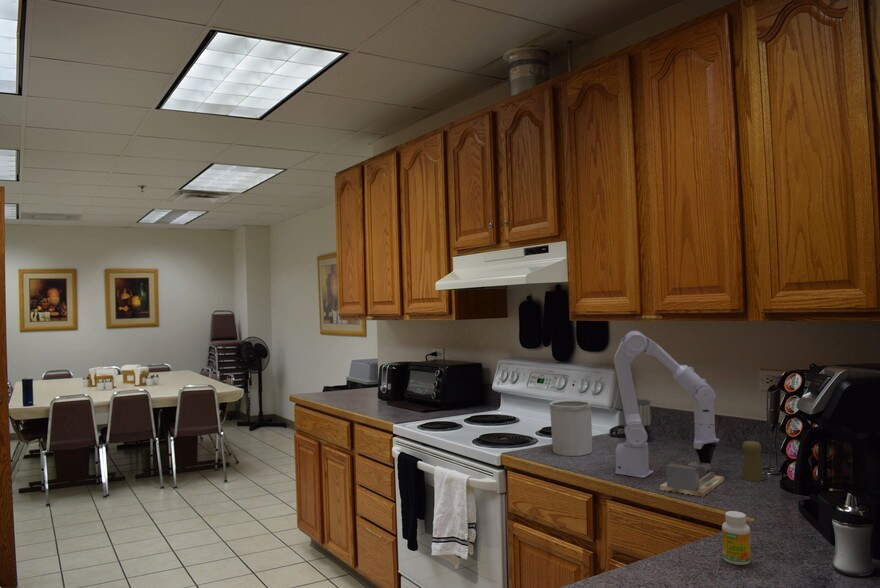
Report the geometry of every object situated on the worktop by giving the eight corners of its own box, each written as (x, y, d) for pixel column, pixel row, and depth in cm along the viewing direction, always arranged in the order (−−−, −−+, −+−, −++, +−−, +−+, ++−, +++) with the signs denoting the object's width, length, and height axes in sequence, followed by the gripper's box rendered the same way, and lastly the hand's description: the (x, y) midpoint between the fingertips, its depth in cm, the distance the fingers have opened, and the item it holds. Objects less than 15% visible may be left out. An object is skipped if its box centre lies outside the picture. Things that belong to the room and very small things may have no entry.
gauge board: (660, 489, 187) (659, 480, 187) (683, 474, 202) (683, 465, 202) (703, 497, 180) (703, 487, 179) (724, 480, 194) (724, 471, 194)
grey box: (666, 486, 186) (666, 465, 186) (670, 484, 188) (670, 463, 188) (695, 491, 181) (695, 469, 181) (699, 489, 183) (698, 467, 183)
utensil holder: (547, 455, 229) (546, 405, 229) (554, 445, 243) (552, 398, 243) (590, 458, 225) (589, 406, 224) (594, 447, 239) (593, 399, 239)
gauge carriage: (687, 476, 195) (687, 464, 195) (693, 472, 198) (693, 461, 198) (714, 480, 190) (714, 468, 190) (719, 476, 193) (719, 464, 193)
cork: (744, 474, 200) (743, 438, 200) (766, 477, 196) (765, 440, 196) (739, 479, 195) (738, 442, 195) (761, 482, 191) (760, 444, 191)
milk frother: (652, 443, 243) (651, 403, 243) (608, 441, 248) (607, 402, 248) (651, 435, 257) (650, 397, 257) (609, 433, 261) (608, 396, 261)
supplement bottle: (723, 563, 137) (722, 517, 137) (722, 553, 142) (721, 508, 142) (752, 566, 135) (750, 519, 135) (749, 556, 140) (748, 511, 140)
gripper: (710, 428, 192) (711, 475, 192) (725, 420, 203) (726, 464, 203) (686, 426, 196) (687, 471, 196) (702, 418, 207) (703, 461, 207)
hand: (705, 467), depth 200 cm, fingers closed
